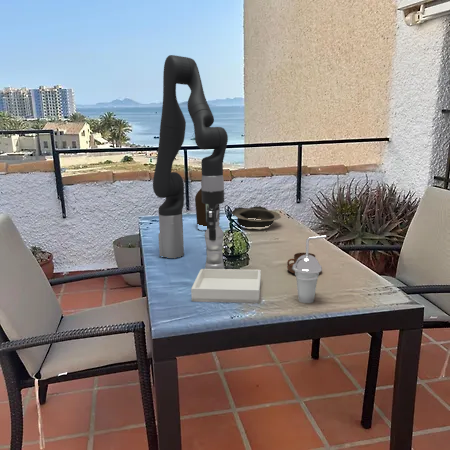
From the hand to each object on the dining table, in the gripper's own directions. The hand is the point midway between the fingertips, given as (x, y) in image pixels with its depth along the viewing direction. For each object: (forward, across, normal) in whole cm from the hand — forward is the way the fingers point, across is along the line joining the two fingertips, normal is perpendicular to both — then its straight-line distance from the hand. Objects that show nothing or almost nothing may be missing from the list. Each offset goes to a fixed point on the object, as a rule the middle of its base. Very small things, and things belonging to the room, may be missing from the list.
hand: (213, 237), depth 146 cm
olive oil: (+14, -68, -13) cm, 70 cm away
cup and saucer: (+14, -5, +31) cm, 34 cm away
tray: (+14, +14, +6) cm, 20 cm away
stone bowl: (+14, -73, +12) cm, 75 cm away
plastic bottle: (+14, 0, 0) cm, 14 cm away
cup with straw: (+14, +20, +30) cm, 39 cm away
